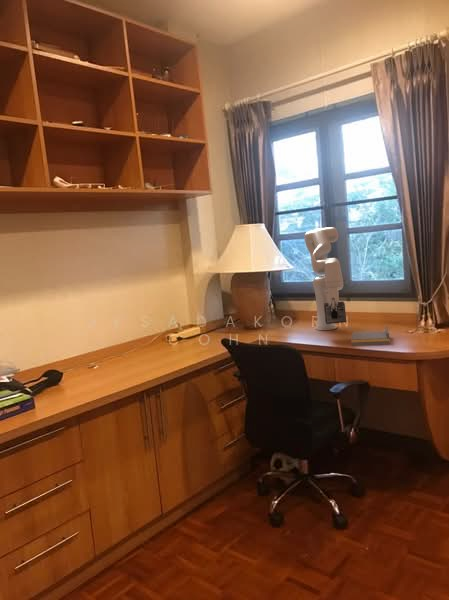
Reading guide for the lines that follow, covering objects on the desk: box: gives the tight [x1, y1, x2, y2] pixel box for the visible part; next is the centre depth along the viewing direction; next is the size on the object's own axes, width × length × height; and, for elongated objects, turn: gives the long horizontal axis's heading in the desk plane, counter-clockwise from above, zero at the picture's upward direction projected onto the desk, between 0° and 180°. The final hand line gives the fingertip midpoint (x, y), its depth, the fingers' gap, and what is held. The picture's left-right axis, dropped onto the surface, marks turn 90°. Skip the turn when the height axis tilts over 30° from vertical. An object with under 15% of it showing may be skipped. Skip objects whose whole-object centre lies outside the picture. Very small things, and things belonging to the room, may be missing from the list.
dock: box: [350, 326, 391, 346], centre depth 245 cm, size 16×18×5 cm
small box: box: [324, 301, 347, 324], centre depth 257 cm, size 11×6×10 cm, turn 84°
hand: (335, 316), depth 258 cm, fingers closed on small box, 7 cm apart
